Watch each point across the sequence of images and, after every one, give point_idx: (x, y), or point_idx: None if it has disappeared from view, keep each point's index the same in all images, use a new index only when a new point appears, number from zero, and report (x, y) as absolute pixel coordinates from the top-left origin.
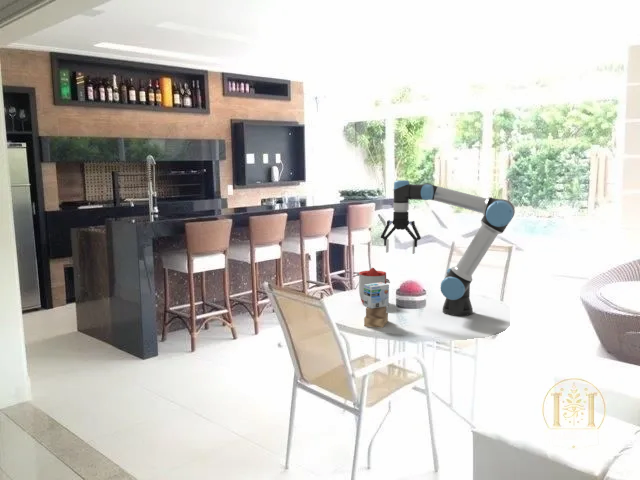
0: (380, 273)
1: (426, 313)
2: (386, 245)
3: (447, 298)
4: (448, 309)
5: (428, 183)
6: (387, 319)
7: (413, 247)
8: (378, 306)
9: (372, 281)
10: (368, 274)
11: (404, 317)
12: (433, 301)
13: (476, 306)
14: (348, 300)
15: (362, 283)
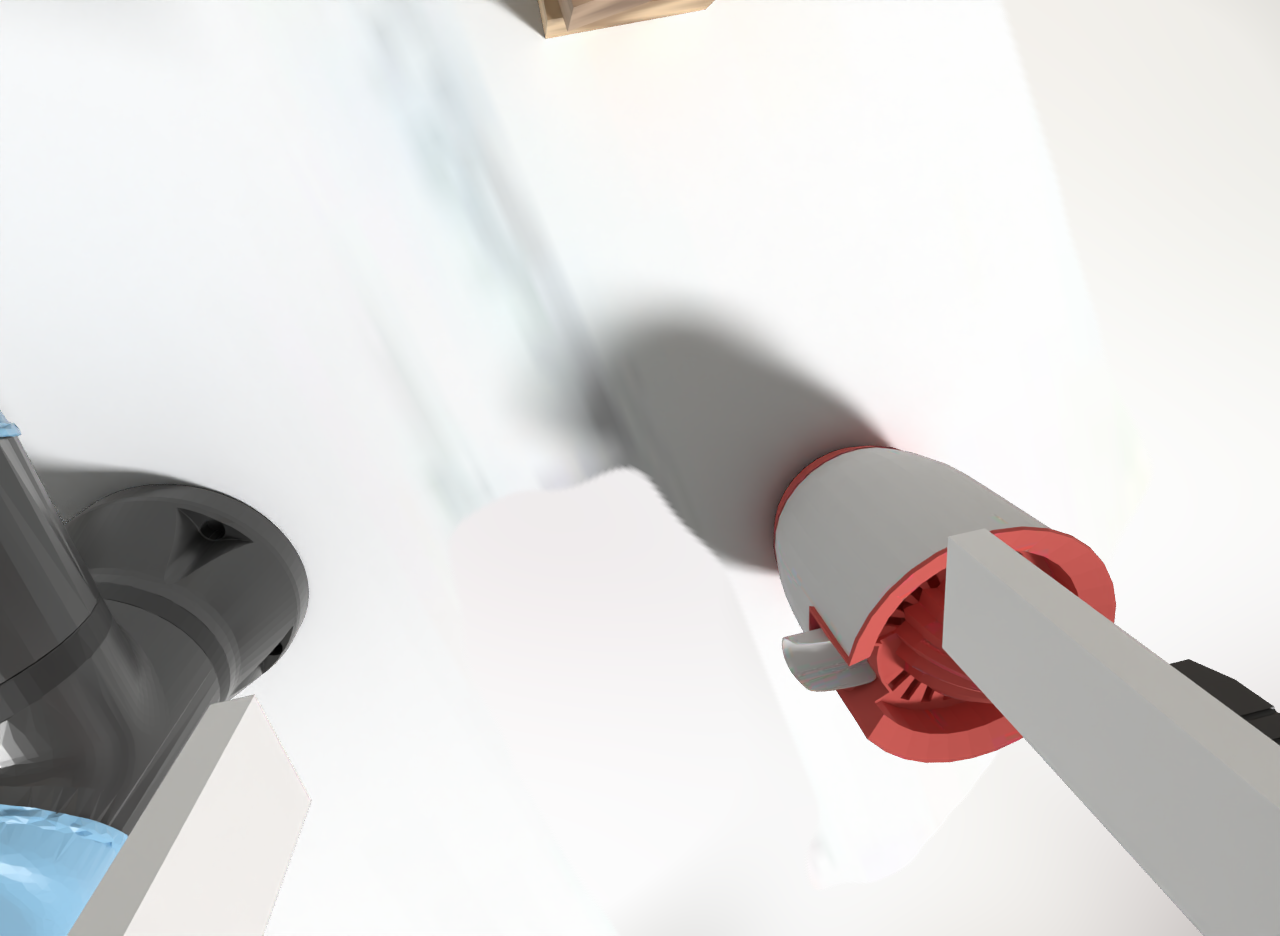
0: (916, 727)
1: (376, 443)
2: (1136, 655)
3: (189, 594)
4: (189, 511)
5: None
6: (542, 17)
7: (117, 881)
8: None
9: (924, 519)
10: None
11: (471, 238)
12: (488, 742)
13: None
14: (1012, 494)
15: (1002, 498)
